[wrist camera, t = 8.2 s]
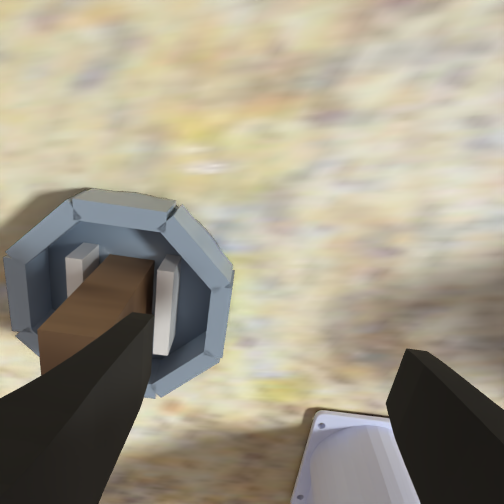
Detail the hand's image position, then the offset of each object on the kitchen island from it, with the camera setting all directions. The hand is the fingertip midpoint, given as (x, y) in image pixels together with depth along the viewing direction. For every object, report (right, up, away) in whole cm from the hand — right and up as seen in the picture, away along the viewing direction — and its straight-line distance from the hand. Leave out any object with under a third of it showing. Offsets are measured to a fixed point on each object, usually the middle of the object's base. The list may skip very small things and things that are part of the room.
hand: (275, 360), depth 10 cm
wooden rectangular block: (-7, +1, +10) cm, 12 cm away
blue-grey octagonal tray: (-7, +1, +10) cm, 13 cm away
